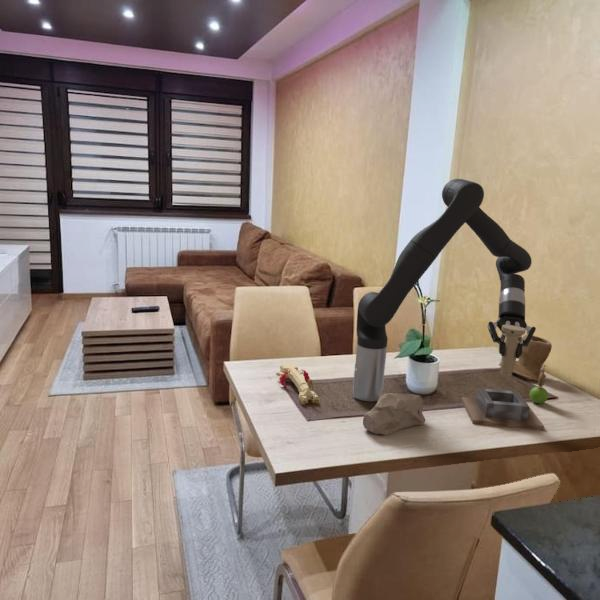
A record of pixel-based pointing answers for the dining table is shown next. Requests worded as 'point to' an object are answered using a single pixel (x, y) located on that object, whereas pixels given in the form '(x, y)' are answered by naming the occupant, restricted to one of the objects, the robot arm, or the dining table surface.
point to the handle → (510, 348)
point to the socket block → (501, 409)
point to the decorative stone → (394, 413)
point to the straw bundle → (298, 382)
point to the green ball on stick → (539, 390)
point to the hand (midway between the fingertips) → (510, 355)
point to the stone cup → (532, 358)
